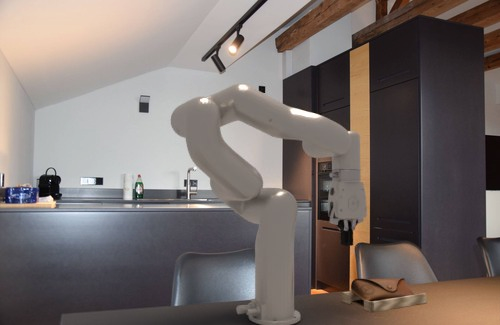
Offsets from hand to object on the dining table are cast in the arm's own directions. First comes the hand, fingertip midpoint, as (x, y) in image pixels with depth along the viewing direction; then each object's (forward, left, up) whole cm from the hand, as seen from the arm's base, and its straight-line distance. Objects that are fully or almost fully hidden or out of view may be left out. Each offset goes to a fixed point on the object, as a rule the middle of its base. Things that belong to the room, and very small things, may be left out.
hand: (347, 245), depth 116 cm
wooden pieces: (+13, 0, -17) cm, 22 cm away
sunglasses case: (+14, 0, -17) cm, 22 cm away
